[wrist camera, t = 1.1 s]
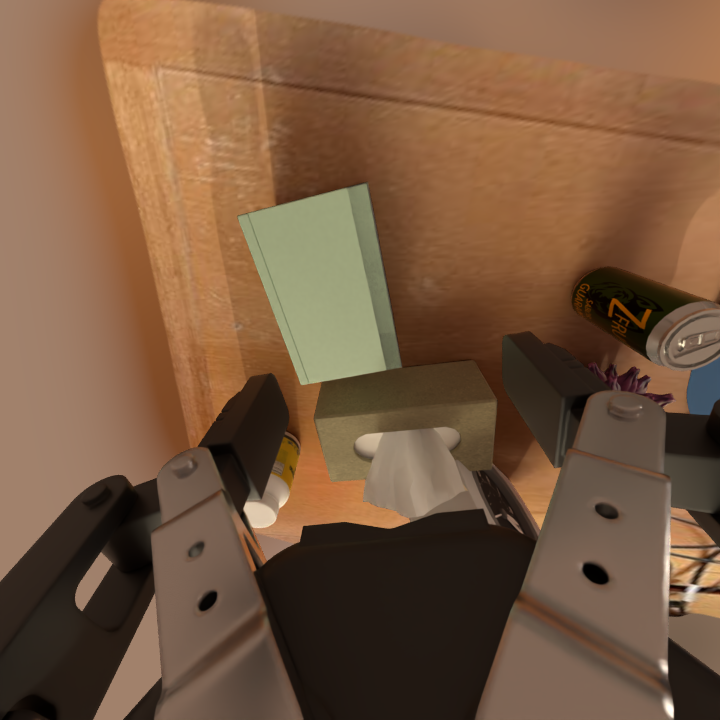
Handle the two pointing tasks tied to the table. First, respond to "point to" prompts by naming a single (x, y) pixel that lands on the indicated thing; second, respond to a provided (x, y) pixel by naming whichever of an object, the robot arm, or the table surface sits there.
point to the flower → (629, 383)
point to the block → (704, 388)
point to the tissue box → (408, 432)
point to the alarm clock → (490, 500)
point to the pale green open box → (326, 283)
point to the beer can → (650, 317)
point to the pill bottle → (275, 485)
